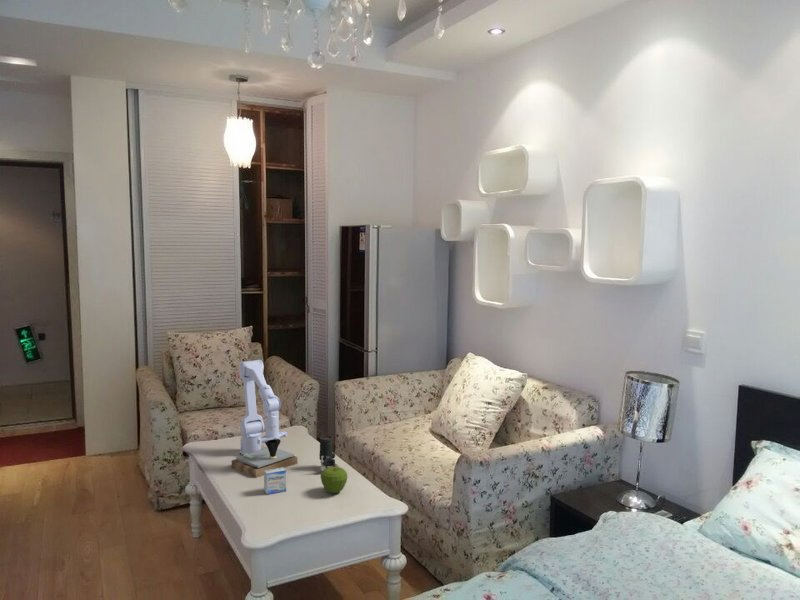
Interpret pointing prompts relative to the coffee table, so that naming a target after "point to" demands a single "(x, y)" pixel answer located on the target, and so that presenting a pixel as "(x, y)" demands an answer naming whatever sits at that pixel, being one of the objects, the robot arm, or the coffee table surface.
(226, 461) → the coffee table surface
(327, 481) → the apple
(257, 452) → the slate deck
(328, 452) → the scope
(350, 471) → the coffee table surface
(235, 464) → the walnut base
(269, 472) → the medicine box
